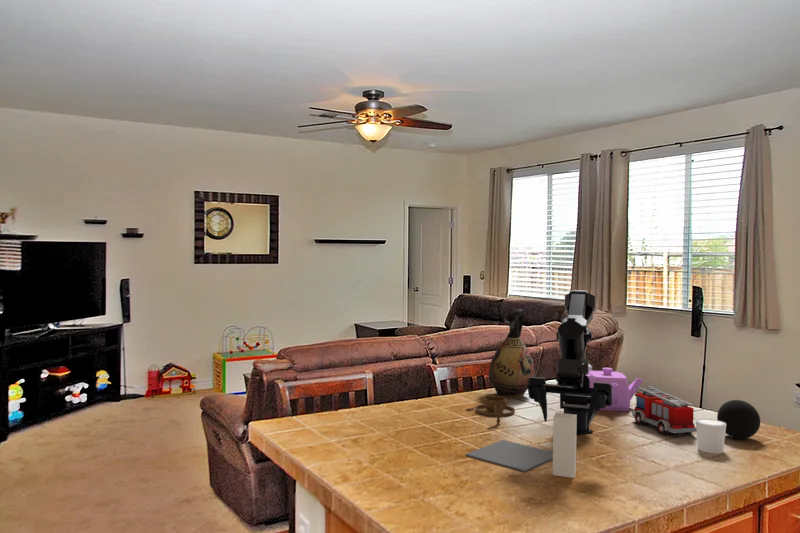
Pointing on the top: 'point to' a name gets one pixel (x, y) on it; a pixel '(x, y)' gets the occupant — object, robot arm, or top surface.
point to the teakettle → (616, 388)
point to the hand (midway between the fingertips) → (566, 422)
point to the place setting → (494, 407)
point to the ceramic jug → (512, 361)
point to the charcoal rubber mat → (512, 455)
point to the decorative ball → (739, 419)
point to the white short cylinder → (710, 435)
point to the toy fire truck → (663, 412)
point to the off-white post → (564, 444)
